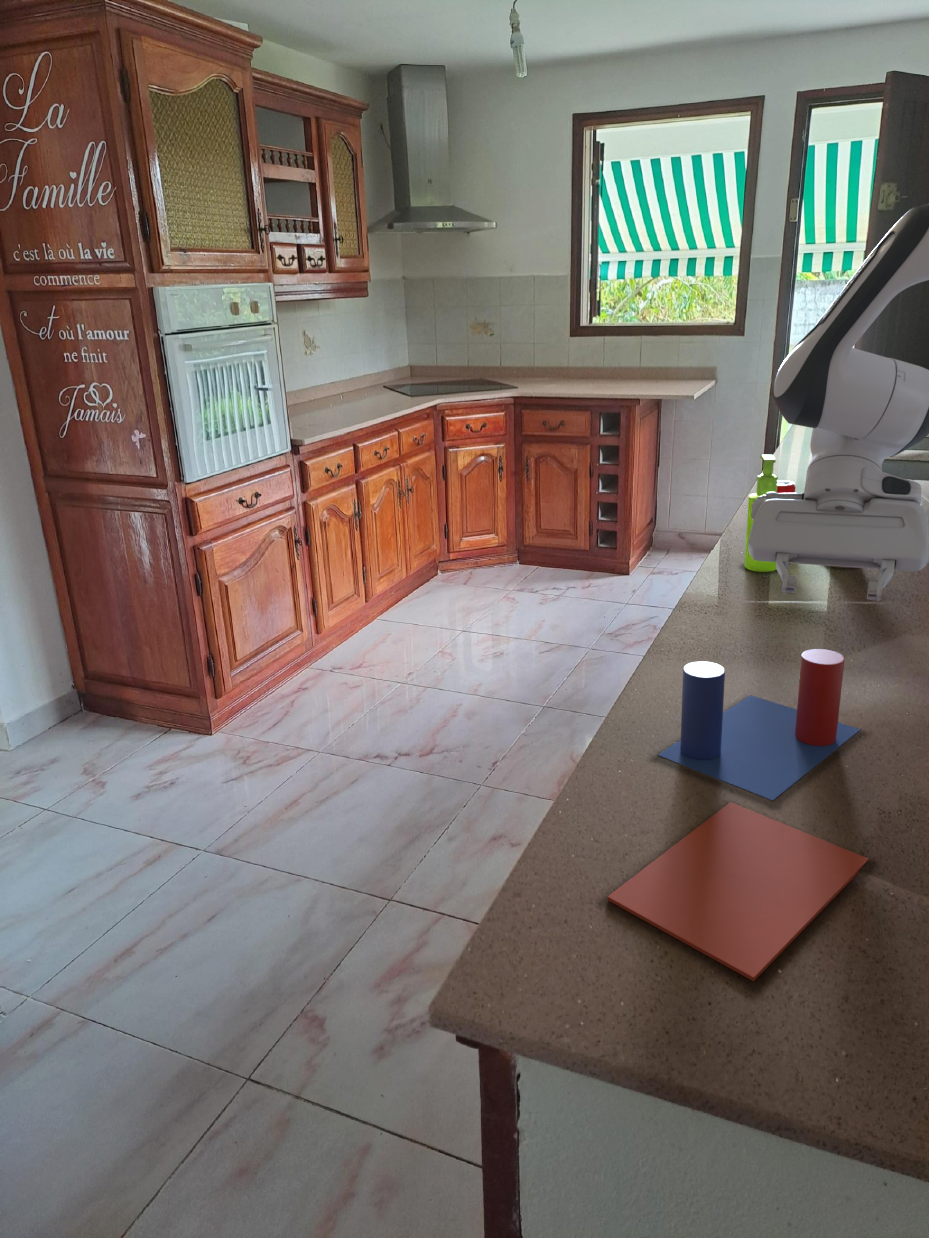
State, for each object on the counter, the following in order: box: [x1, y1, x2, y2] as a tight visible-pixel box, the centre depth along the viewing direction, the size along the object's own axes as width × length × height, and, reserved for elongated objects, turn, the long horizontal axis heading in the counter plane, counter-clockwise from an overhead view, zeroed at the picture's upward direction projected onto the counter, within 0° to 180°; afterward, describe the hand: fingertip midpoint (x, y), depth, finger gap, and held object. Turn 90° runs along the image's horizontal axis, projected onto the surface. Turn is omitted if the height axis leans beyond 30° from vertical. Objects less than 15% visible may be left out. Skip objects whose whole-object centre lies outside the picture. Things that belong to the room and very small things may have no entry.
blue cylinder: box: [680, 660, 726, 760], centre depth 97 cm, size 4×4×10 cm
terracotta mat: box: [606, 801, 870, 982], centre depth 78 cm, size 14×20×1 cm
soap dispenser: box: [744, 454, 779, 573], centre depth 156 cm, size 6×7×20 cm
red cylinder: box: [795, 648, 845, 746], centre depth 99 cm, size 4×4×10 cm
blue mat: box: [657, 694, 861, 801], centre depth 100 cm, size 14×20×1 cm
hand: (830, 595), depth 104 cm, fingers open, 8 cm apart
